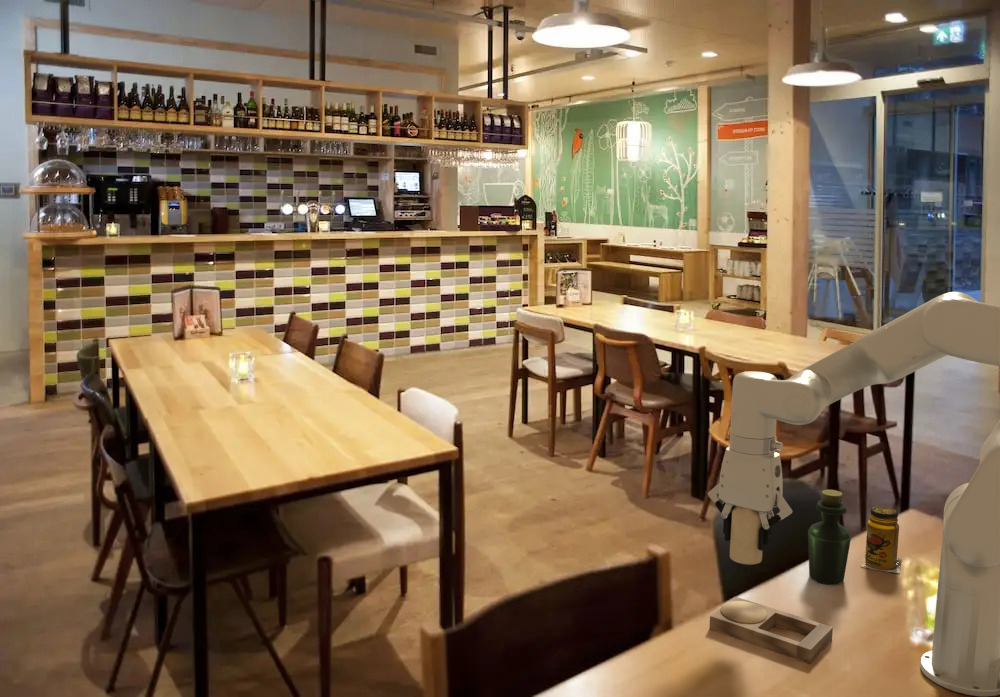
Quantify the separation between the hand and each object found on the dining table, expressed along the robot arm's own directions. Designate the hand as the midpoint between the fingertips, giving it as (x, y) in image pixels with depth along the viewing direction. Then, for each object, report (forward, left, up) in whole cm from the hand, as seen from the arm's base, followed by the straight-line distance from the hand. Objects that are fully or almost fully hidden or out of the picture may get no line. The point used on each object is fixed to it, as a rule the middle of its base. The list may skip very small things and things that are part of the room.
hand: (746, 542), depth 151 cm
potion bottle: (-4, -30, -16) cm, 34 cm away
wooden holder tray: (-5, 0, -16) cm, 17 cm away
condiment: (-10, -45, -16) cm, 48 cm away
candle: (0, 0, -3) cm, 3 cm away
